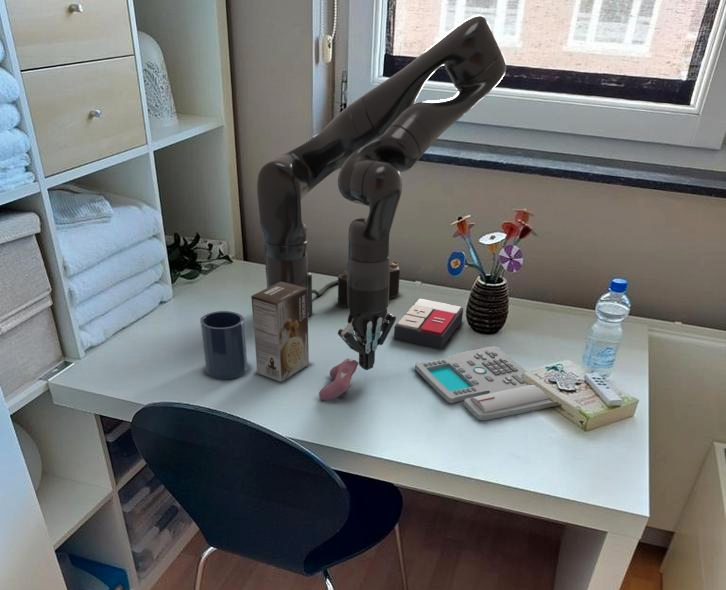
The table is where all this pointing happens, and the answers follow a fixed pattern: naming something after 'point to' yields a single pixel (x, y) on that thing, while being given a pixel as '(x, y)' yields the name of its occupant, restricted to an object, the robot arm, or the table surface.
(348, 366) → the video game controller
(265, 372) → the coffee box
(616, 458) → the table surface
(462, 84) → the robot arm
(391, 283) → the camera
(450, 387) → the office telephone
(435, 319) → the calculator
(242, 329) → the pen cup
